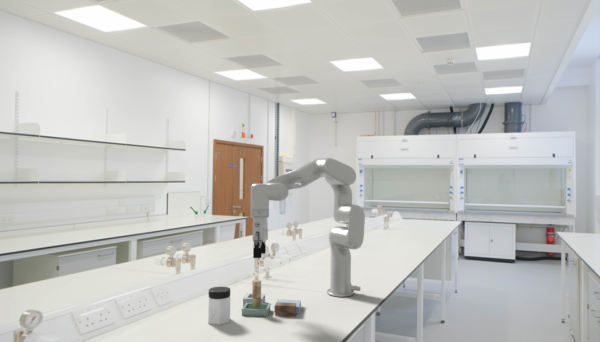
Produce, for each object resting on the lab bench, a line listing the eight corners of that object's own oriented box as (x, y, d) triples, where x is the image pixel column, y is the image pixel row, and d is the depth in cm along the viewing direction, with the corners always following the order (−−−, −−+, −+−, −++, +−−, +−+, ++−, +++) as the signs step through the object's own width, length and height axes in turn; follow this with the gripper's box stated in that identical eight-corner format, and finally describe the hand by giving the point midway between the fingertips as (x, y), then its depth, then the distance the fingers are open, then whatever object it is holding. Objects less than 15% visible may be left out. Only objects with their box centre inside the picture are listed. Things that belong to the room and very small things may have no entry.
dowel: (261, 309, 167) (262, 280, 168) (259, 312, 164) (260, 282, 164) (253, 309, 168) (253, 279, 168) (251, 312, 164) (251, 282, 164)
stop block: (296, 313, 166) (296, 303, 166) (295, 316, 162) (295, 306, 162) (276, 312, 166) (276, 302, 167) (275, 315, 163) (275, 305, 163)
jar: (202, 323, 153) (203, 290, 153) (213, 316, 161) (214, 285, 161) (224, 326, 150) (225, 293, 150) (234, 319, 158) (235, 287, 158)
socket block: (265, 302, 180) (265, 294, 180) (261, 307, 172) (261, 299, 172) (247, 301, 181) (247, 293, 181) (242, 306, 173) (243, 298, 173)
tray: (270, 310, 169) (270, 303, 169) (266, 316, 161) (267, 310, 161) (246, 309, 170) (246, 302, 170) (241, 315, 162) (241, 309, 162)
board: (300, 307, 175) (300, 300, 175) (298, 314, 166) (299, 306, 166) (277, 306, 176) (277, 299, 176) (274, 313, 167) (274, 305, 167)
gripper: (265, 215, 160) (265, 260, 159) (271, 212, 177) (271, 251, 177) (246, 215, 160) (246, 259, 160) (254, 211, 177) (254, 251, 177)
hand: (259, 255), depth 168 cm, fingers open, 9 cm apart
